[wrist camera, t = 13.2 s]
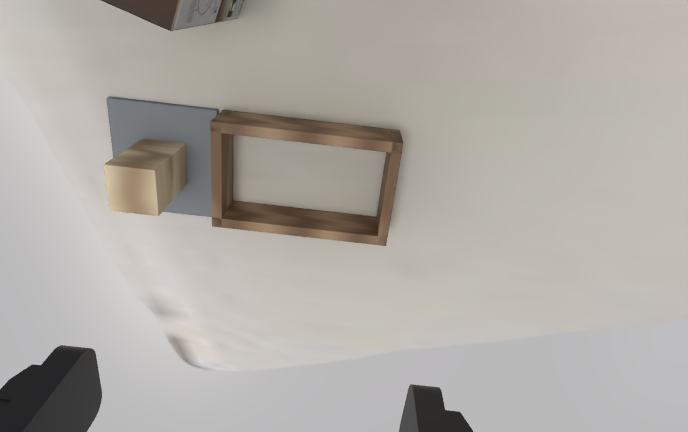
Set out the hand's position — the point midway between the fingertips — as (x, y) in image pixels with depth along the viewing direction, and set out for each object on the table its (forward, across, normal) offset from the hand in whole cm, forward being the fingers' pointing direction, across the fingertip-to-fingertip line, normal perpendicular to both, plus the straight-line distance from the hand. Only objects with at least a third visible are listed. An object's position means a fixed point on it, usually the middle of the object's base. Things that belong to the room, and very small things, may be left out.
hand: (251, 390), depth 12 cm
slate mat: (+38, +17, +9) cm, 43 cm away
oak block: (+38, +17, +9) cm, 42 cm away
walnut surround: (+38, +2, +8) cm, 39 cm away
